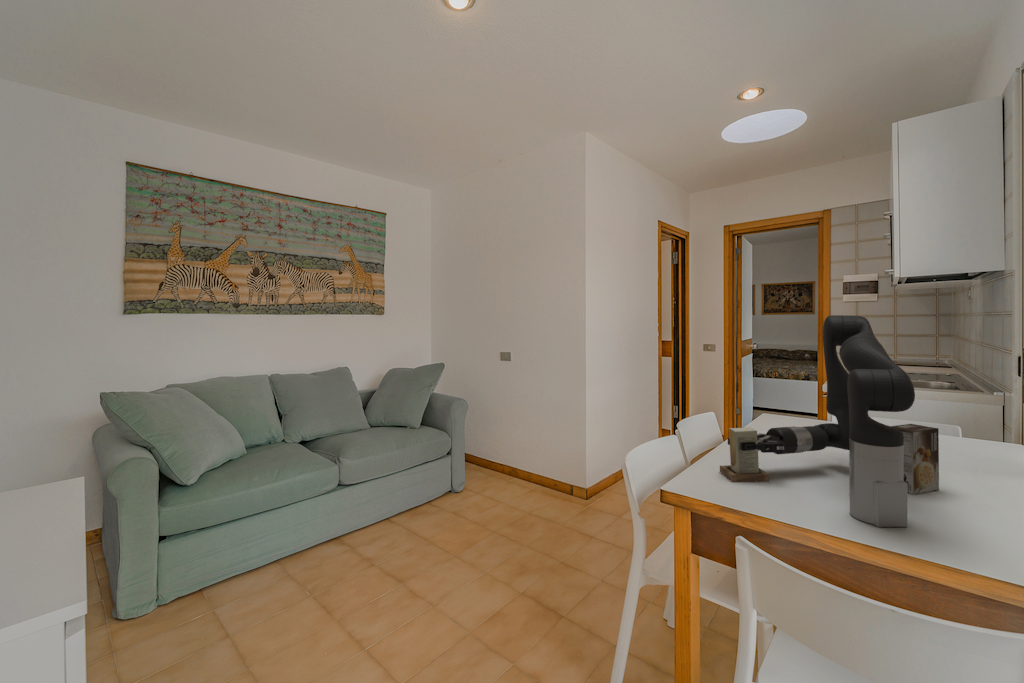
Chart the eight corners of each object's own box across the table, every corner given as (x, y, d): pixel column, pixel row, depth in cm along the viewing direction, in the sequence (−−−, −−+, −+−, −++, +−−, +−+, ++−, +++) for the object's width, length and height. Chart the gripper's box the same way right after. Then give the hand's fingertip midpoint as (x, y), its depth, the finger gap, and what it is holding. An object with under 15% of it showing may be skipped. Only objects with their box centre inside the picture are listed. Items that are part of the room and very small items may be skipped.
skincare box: (752, 468, 126) (751, 426, 125) (759, 473, 121) (758, 430, 121) (729, 468, 126) (728, 427, 126) (735, 474, 122) (734, 430, 122)
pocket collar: (769, 481, 120) (769, 474, 120) (732, 481, 120) (732, 474, 120) (754, 471, 128) (754, 465, 128) (719, 472, 128) (719, 465, 128)
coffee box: (910, 482, 116) (910, 423, 116) (939, 490, 110) (940, 428, 110) (885, 486, 114) (885, 426, 113) (914, 495, 108) (914, 431, 107)
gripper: (771, 422, 132) (719, 425, 130) (808, 433, 118) (751, 437, 116) (771, 446, 133) (719, 450, 131) (809, 460, 118) (751, 464, 116)
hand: (734, 444), depth 123 cm, fingers closed on skincare box, 5 cm apart
